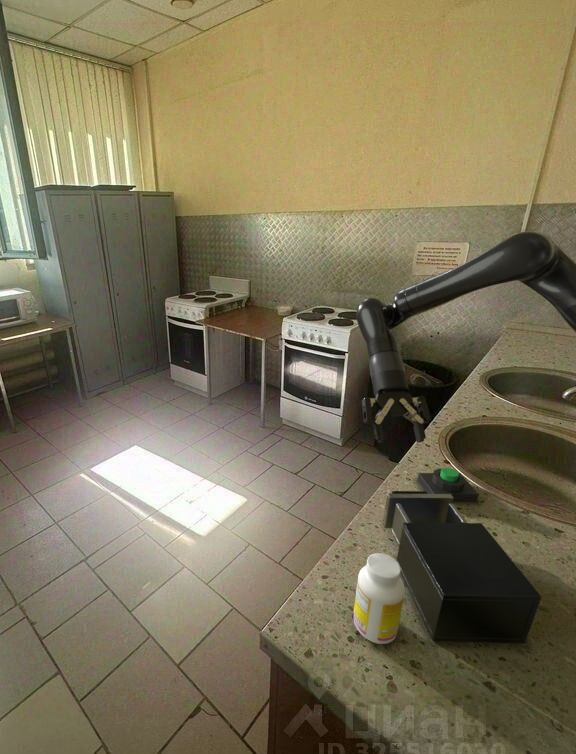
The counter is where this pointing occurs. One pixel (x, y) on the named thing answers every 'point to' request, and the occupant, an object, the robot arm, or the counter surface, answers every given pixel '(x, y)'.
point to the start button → (449, 474)
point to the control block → (448, 486)
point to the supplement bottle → (379, 599)
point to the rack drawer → (418, 510)
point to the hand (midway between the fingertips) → (401, 442)
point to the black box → (465, 584)
